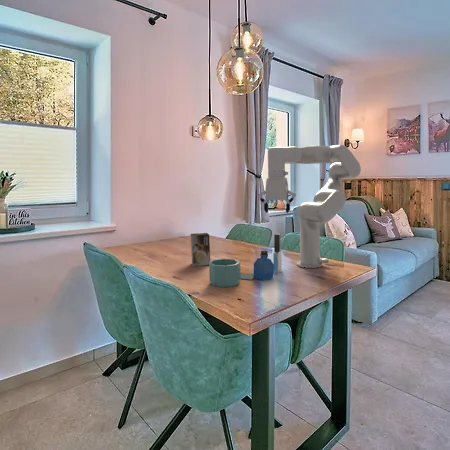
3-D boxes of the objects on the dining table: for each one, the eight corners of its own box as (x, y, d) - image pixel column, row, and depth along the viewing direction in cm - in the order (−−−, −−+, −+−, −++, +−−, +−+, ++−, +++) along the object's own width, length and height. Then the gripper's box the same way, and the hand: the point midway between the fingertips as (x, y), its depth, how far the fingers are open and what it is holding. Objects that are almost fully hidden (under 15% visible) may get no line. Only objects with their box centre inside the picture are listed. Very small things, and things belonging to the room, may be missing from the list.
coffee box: (208, 262, 186) (207, 232, 183) (210, 265, 179) (209, 234, 177) (191, 263, 184) (190, 233, 182) (192, 266, 178) (191, 235, 175)
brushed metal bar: (281, 269, 168) (281, 232, 165) (278, 274, 159) (278, 235, 157) (276, 269, 169) (276, 232, 166) (273, 274, 160) (272, 235, 158)
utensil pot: (243, 279, 152) (242, 259, 151) (234, 288, 141) (233, 266, 140) (216, 277, 156) (216, 258, 155) (206, 285, 145) (205, 264, 144)
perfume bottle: (262, 281, 150) (263, 254, 148) (253, 276, 155) (254, 250, 152) (273, 278, 153) (274, 252, 151) (263, 274, 158) (264, 248, 156)
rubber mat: (257, 274, 160) (257, 273, 160) (251, 280, 151) (251, 279, 151) (232, 272, 164) (232, 272, 164) (225, 278, 155) (225, 277, 155)
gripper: (297, 174, 158) (297, 211, 161) (259, 175, 164) (260, 211, 167) (294, 174, 151) (294, 213, 154) (255, 175, 157) (256, 213, 160)
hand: (277, 212), depth 160 cm, fingers open, 9 cm apart
